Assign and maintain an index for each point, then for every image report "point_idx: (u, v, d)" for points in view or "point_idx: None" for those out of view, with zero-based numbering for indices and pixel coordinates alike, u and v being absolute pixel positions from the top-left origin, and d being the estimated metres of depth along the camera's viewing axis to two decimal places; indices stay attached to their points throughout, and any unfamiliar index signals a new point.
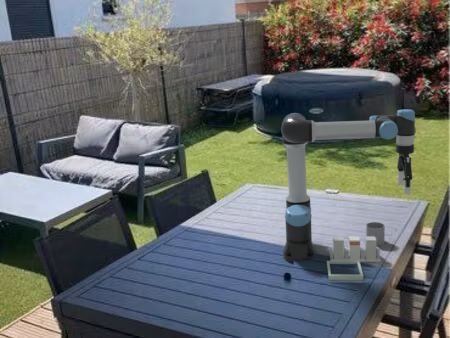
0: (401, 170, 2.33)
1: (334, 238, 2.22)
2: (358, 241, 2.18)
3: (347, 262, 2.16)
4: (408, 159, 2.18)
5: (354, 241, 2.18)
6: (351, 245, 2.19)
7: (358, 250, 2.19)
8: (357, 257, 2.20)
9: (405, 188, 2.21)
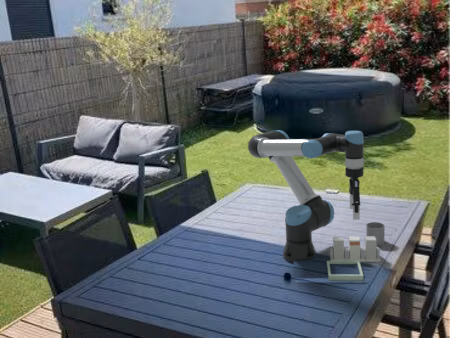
0: (353, 193, 2.22)
1: (334, 238, 2.22)
2: (358, 241, 2.18)
3: (347, 262, 2.16)
4: (356, 183, 2.07)
5: (354, 241, 2.18)
6: (351, 245, 2.19)
7: (358, 250, 2.19)
8: (357, 257, 2.20)
9: (354, 214, 2.10)
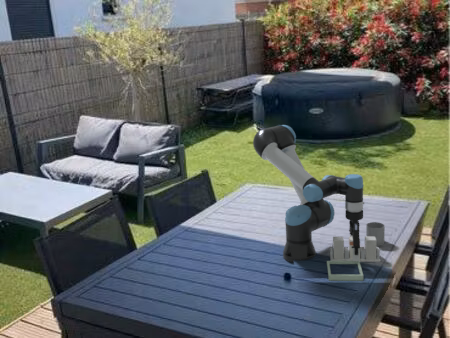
0: (353, 234, 2.27)
1: (334, 238, 2.22)
2: None
3: (347, 262, 2.16)
4: (356, 227, 2.12)
5: None
6: (351, 245, 2.19)
7: None
8: None
9: (354, 256, 2.15)
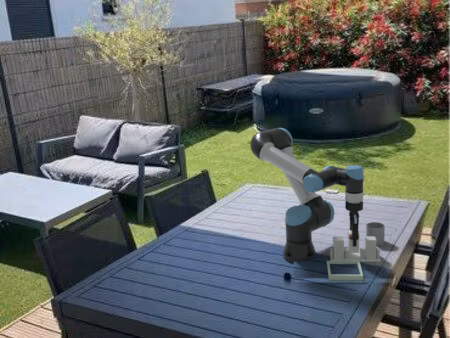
0: None
1: (334, 238, 2.22)
2: None
3: (347, 262, 2.16)
4: (356, 221, 2.11)
5: None
6: None
7: None
8: None
9: (352, 247, 2.19)
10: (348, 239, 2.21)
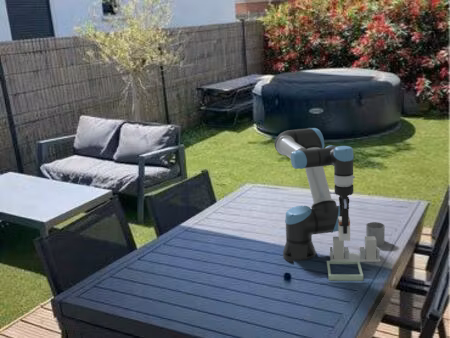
0: None
1: (334, 238, 2.22)
2: None
3: (347, 262, 2.16)
4: (345, 206, 1.97)
5: None
6: None
7: (348, 231, 2.04)
8: None
9: (342, 234, 2.04)
10: (338, 226, 2.06)
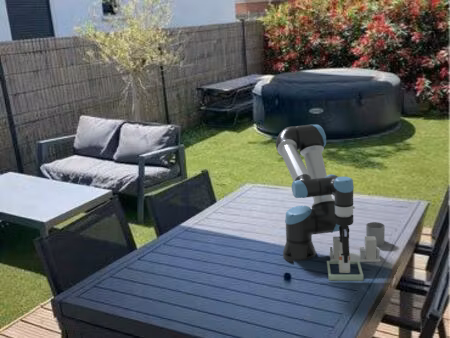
0: None
1: (334, 238, 2.22)
2: None
3: None
4: (346, 233, 1.99)
5: None
6: (341, 260, 2.07)
7: None
8: (347, 272, 2.08)
9: (343, 263, 2.03)
10: None
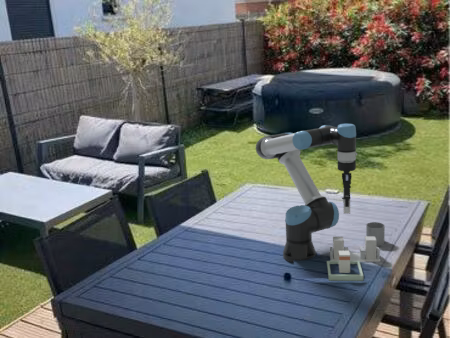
0: None
1: (334, 238, 2.22)
2: (348, 256, 2.06)
3: None
4: (347, 177, 2.04)
5: (344, 256, 2.07)
6: (341, 260, 2.07)
7: (348, 265, 2.08)
8: (347, 272, 2.08)
9: (344, 208, 2.08)
10: None
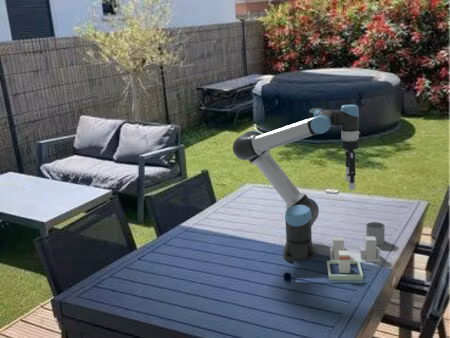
0: (349, 166, 2.31)
1: (334, 238, 2.22)
2: (348, 256, 2.06)
3: None
4: (352, 155, 2.16)
5: (344, 256, 2.07)
6: (341, 260, 2.07)
7: (348, 265, 2.08)
8: (347, 272, 2.08)
9: (349, 184, 2.19)
10: None
